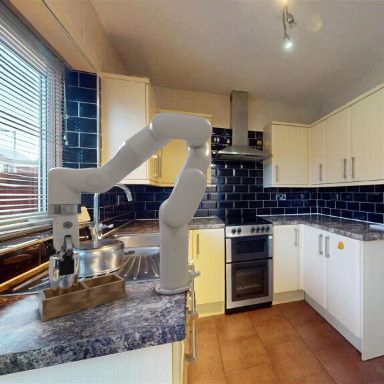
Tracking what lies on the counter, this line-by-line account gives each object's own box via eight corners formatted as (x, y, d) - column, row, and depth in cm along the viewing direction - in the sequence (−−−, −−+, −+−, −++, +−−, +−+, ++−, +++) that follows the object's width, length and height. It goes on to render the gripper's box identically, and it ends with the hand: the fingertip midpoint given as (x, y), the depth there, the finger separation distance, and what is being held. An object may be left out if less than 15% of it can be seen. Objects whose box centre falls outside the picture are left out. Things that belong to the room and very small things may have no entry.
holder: (115, 288, 80) (115, 273, 81) (125, 296, 74) (125, 279, 74) (38, 309, 66) (38, 290, 66) (42, 321, 59) (42, 300, 59)
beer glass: (61, 314, 62) (62, 258, 63) (41, 311, 64) (41, 257, 64) (85, 302, 69) (85, 252, 69) (66, 300, 70) (67, 251, 71)
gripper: (87, 210, 64) (87, 275, 63) (75, 209, 76) (74, 263, 75) (51, 212, 58) (51, 282, 58) (44, 210, 70) (43, 268, 70)
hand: (64, 271), depth 67 cm, fingers closed on beer glass, 7 cm apart
